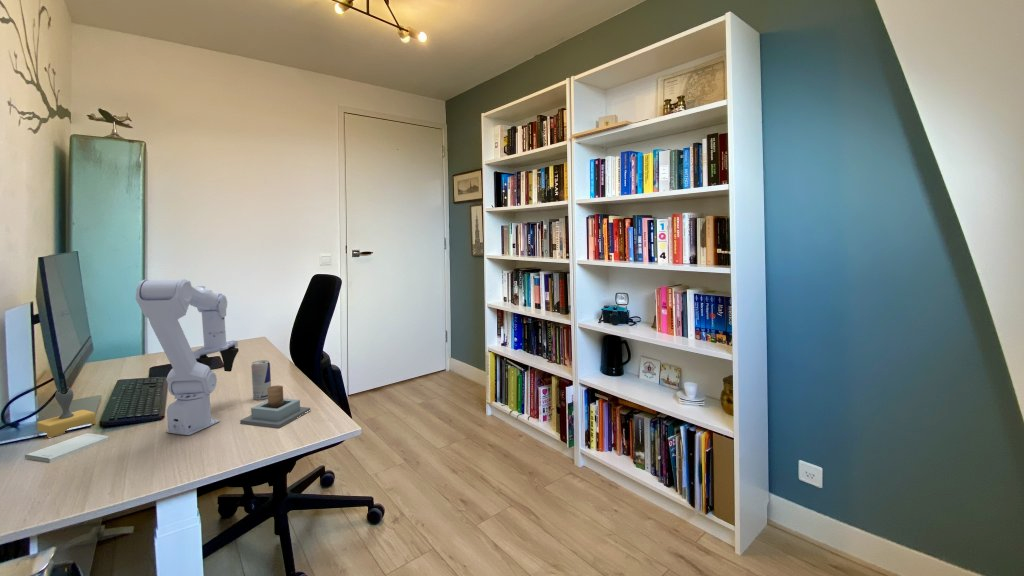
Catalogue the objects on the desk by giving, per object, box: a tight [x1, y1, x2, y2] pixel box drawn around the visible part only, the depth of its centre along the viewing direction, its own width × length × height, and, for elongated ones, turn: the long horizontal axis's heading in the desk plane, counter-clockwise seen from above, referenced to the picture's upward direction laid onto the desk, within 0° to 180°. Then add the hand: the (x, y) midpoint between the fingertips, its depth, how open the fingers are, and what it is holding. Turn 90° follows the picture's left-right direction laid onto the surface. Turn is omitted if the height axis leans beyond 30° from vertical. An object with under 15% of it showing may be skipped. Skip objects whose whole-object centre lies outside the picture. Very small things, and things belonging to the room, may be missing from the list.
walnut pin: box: [267, 384, 284, 409], centre depth 129 cm, size 4×4×8 cm
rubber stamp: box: [36, 387, 97, 438], centre depth 119 cm, size 10×6×12 cm, turn 159°
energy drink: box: [250, 359, 272, 401], centre depth 145 cm, size 5×5×12 cm
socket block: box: [239, 397, 311, 429], centre depth 129 cm, size 13×13×4 cm
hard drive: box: [24, 432, 110, 464], centre depth 109 cm, size 2×8×12 cm
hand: (217, 374), depth 136 cm, fingers open, 7 cm apart
